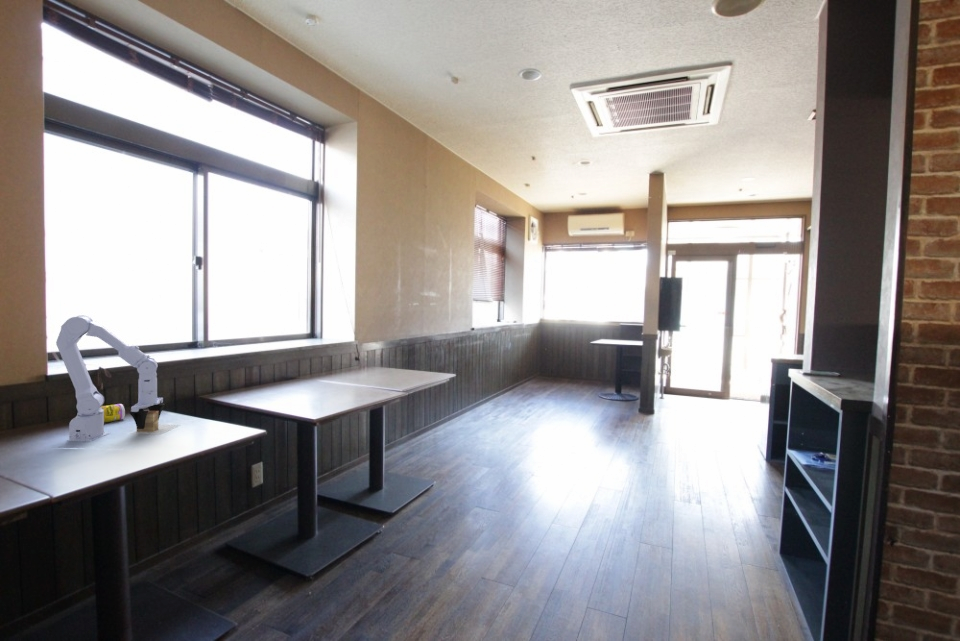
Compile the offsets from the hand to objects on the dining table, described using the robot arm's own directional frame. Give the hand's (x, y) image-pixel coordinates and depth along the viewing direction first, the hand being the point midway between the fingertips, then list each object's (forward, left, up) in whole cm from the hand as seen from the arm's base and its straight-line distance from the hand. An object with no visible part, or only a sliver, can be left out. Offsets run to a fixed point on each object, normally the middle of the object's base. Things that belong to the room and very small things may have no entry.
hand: (147, 425), depth 170 cm
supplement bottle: (+15, +20, +1) cm, 25 cm away
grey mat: (+2, -2, -2) cm, 4 cm away
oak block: (0, 0, -2) cm, 2 cm away
